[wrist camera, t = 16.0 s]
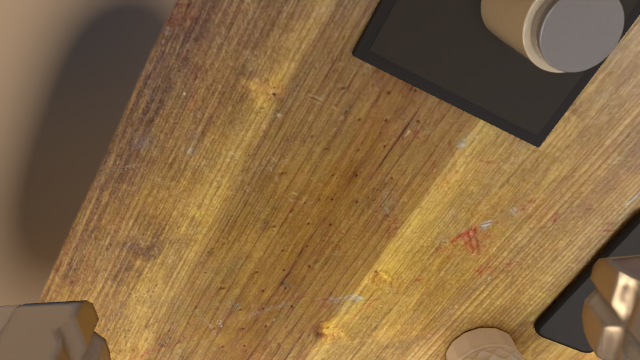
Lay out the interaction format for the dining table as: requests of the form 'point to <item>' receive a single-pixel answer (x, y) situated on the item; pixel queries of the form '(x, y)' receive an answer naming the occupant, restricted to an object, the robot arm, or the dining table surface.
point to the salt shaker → (557, 30)
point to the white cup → (484, 346)
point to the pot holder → (472, 64)
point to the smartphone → (584, 295)
